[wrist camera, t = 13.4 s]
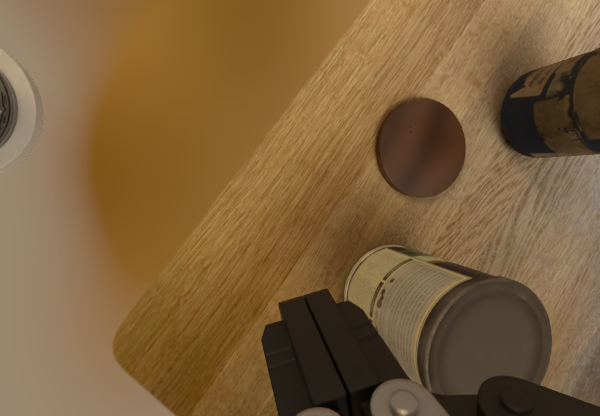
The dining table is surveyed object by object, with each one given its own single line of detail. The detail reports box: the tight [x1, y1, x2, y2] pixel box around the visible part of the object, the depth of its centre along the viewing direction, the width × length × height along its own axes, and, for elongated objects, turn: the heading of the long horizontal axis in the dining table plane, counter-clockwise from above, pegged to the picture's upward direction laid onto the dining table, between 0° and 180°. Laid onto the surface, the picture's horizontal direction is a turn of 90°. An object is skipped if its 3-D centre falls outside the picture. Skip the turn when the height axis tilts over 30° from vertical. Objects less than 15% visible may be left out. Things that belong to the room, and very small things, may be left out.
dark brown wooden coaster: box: [376, 98, 465, 198], centre depth 37 cm, size 10×10×1 cm
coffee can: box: [344, 245, 552, 395], centre depth 31 cm, size 10×10×14 cm
